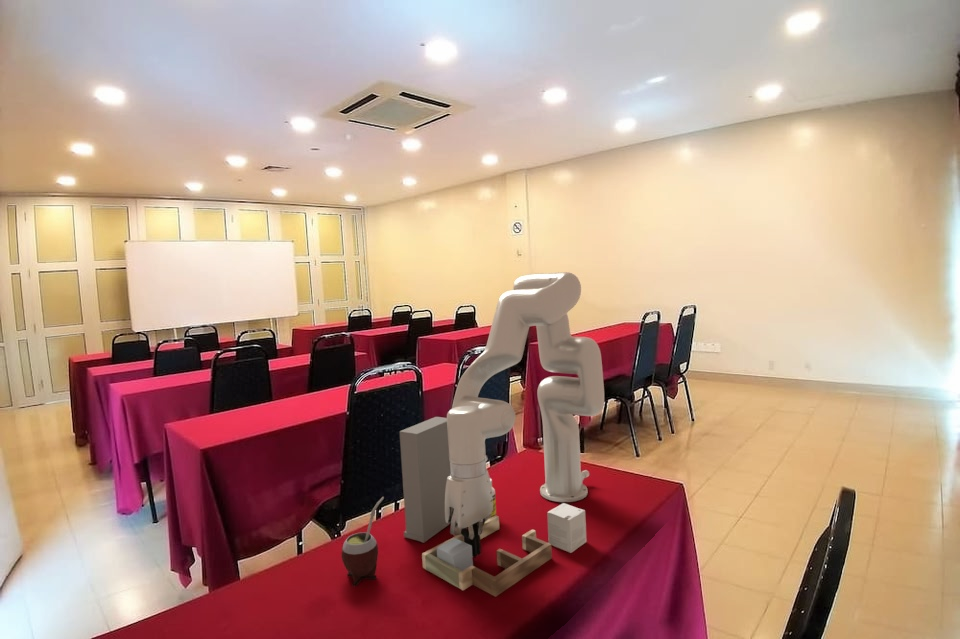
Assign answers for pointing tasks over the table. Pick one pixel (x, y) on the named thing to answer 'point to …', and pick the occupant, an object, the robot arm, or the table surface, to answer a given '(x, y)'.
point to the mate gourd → (361, 554)
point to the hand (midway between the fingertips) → (472, 553)
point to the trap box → (510, 562)
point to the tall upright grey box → (425, 477)
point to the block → (456, 554)
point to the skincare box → (566, 527)
